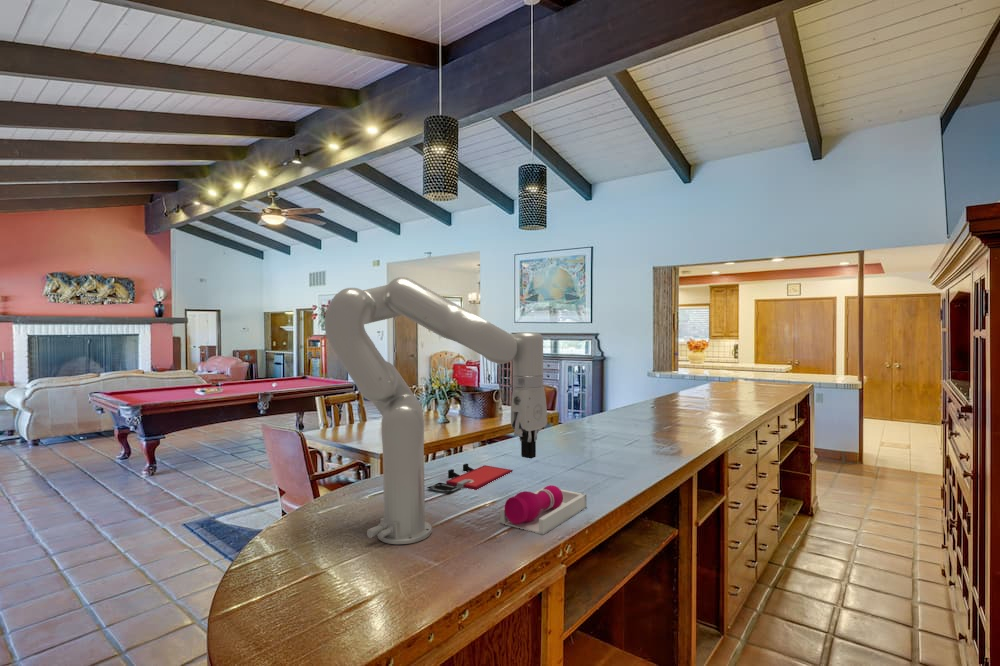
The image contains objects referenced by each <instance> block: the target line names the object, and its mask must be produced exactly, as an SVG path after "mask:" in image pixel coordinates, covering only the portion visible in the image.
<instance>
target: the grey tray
mask: <svg viewBox="0 0 1000 666" xmlns="http://www.w3.org/2000/svg"><path fill="white" fill-rule="evenodd" d="M544 488H545V487H542V488H540V489H538V490H537V491H535V492H533V493H535V494H537V493H538V492H539V491H540V490H543V489H544ZM559 489H560V490H561V492H562V494H563V501H562V504H561V505H560V506H559V507H558V508H556V509H548V510H543V509H542V510H541V511H540V513H539V515H538V516H537V517H536V518H535V519H534V520H532V521H530V522H522V523H519V524H514V523H512V522H511V521H509V519H508V518H507V516H506V513H505V506H504V507H502V508H500V510H499V511H500V515H499V516H500V524H501V525H504V524H505V525H504V526H509V527H512V528H515V529H516V528H517V529H519V528H520V529H519V530H523V529H524V531H527V530H528V532H531V531H532V532H531V533H534V532H535V533H536V534H538V533H539V534H538V535H542V536H545V534H547V533H549V532H550V531H552V530H553V529H555V528H557V527H558V526H560V525H561V524H563V523H564V522H566V521H568V520H569V519H571V518H573V517H574V516H575V515H578V514H579V513H580V512H582V511H584V510H585V509H586V508H587V505H588V504H587V494H586V493H580V492H576V491H571V490H567V489H562V488H559ZM584 508H585V509H584ZM581 510H582V511H581ZM535 533H534V534H535Z"/></svg>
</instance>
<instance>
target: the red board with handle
mask: <svg viewBox="0 0 1000 666" xmlns="http://www.w3.org/2000/svg"><path fill="white" fill-rule="evenodd" d="M467 470H468V471H467ZM463 471H467V472H464V473H463V474H458V473H456V472H455V469H454V468H450V469H449V470H447V472H448V473H447V475H448V476H447V478H448V479H449V480H446V481H445V483H443V482H438V483H435V484H432V485H430V486H428V487H426V489H430V490H435V491H439V492H444V493H448V494H449V493H452V492H454V491H455V490H458V489H460V488H462V489H467V488H468V490H472V489H474V490H473V491H477V489H478V490H480V489H482V488H483V486H484V487H486V486H488V485H489V484H488V483H490V482H491V483H493V482H495V481H497V480H499V479H501V478H503V477H505V476H507V475H509V474H511V473H513V472H512V471H514V470H513V469H507V468H503V467H496V466H492V465H485V464H484V465H482V466H480V467H478V468H475V469H474V468H472V467H470V466H469V463H463V464H462V472H463ZM510 472H511V473H510ZM508 473H509V474H508ZM506 474H507V475H506ZM504 475H505V476H504ZM502 476H503V477H502ZM452 477H453V478H452ZM500 477H501V478H500ZM450 478H451V479H450ZM498 478H499V479H498ZM496 479H497V480H496ZM494 480H495V481H494ZM492 481H493V482H492ZM491 483H490V484H491ZM487 484H488V485H487ZM485 485H486V486H485ZM481 487H482V488H481ZM479 488H480V489H479Z"/></svg>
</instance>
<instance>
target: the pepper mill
mask: <svg viewBox="0 0 1000 666" xmlns="http://www.w3.org/2000/svg"><path fill="white" fill-rule="evenodd" d="M543 488H544V489H543ZM543 488H542V489H543V490H541V489H539V490H540V491H539V492H538V493H537V494H535V493H534V492H531V491H527V490H526V491H525V490H524V491H520V492H518V493H517V494H516V495H515V496H511V497H509V498H508V499H507V500H506V501H505V504H504V507H505V513H506V516H507V518H508V519H509V521H511V522H512V523H514V524H519V523H522V522H530V521H532V520H534V519H535V518H536V517H537V516H538V515H539V513H540V511H541V510H542V509H543V510H548V509H556V508H558V507H559V506H560V505H561V504H562V501H563V494H562V492H561V490H560V489H561V488H559V487H557V486H556V485H552V484H551V485H547V486H545V487H543Z"/></svg>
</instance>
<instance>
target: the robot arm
mask: <svg viewBox="0 0 1000 666" xmlns="http://www.w3.org/2000/svg"><path fill="white" fill-rule="evenodd" d="M324 316H325V317H324V331H325V335H326V339H327V340H328V343H329V345H330V347H331V349H332V350H333V352H334V354H335V355H336V357H337V358H338V360H339V361H340V363H341V364H342V366H343V368H344V369H345V370H346V373H347V374H348V375H349V377H350V378H351V380H352V381H353V382H354V385H355V386H356V388H357V389H358V391H359V393H360V394H361V396H362V397H363V398H364V399H366V400H368V401H369V402H372V403H373V405H374V406H375V407H376V409H377V411H379V414H380V415H381V416H382V418H381V441H382V443H381V444H382V472H383V473H382V479H383V481H382V482H383V516H382V518H381V517H380V519H379V520H380V521H379V522H380V523H378V524H377V525H376V526H373V527H371V528H368V529H367V531H366V535H367V537H368V538H370V539H372V538H374V537H377V539H378V540H379V541H381V542H383V543H385V544H389V545H407V544H414V543H418V542H420V541H421V542H422V541H424V540H425V539H427V538H428V537H429V536H430V535H431V534H432V533H433V532H432V531H433V528H432V525H431V523H430V522H428V521H426V516H425V515H426V510H425V509H426V507H425V506H426V505H425V504H426V503H425V501H426V499H425V498H426V497H425V446H424V445H425V418H424V417H425V416H424V411H423V408H422V404H420V402H419V400H418V398H416V396H415V394H414V392H413V391H412V389H410V387H409V385H408V383H406V381H405V380H404V378H403V377H402V375H401V373H400V372H399V370H398V369H397V367H395V366H394V365H393V364H392V363H391V362H389V361H387V360H386V359H385V358H384V357H383V355H382V354H381V353H380V351H379V350H378V348H377V347H376V344H375V343H374V341H373V340H372V339H371V337H370V336H369V335H368V332H367V331H366V328H365V325H367V324H368V325H369V324H371V323H375V322H380V321H384V320H388V319H392V318H393V319H394V318H396V317H400V316H403V317H405V318H406V319H409V320H411V321H412V322H414V323H416V324H418V325H419V326H422V327H423V328H424V329H427V330H428V331H430V332H433V333H434V334H436V335H438V336H439V337H442V338H444V339H447V340H451V341H452V342H455V343H458V344H460V345H462V346H464V347H466V348H468V349H470V350H472V351H473V352H476V353H477V354H479V355H481V356H482V357H484V358H485V359H486V360H488V361H489V362H492V363H495V364H499V365H504V364H507V363H509V362H511V361H512V393H511V394H512V395H511V403H510V426H511V429H512V430H514V432H513V435H514V436H515V437H519V441H520V442H521V443H520V445H521V449H520V451H521V453H520V454H521V455H520V456H521V457H522V458H525V459H533V458H536V457H537V453H536V452H537V451H536V450H537V449H536V445H537V444H536V443H537V440H538V433H540V431H541V430H542V429H543V428H545V427H546V426H547V425H548V410H547V409H548V407H547V396H546V391H545V387H544V337H543V335H542V334H541V333H540V332H517V333H509V332H507V331H505V330H504V329H502V328H500V327H499V326H497V325H495V324H493V323H491V322H489V321H488V320H486V319H484V318H482V317H480V316H478V315H476V314H475V313H473V312H471V311H469V310H467V309H465V308H464V307H463V306H460V305H459V304H456V303H454V302H453V301H451V300H449V299H447V298H446V297H444V296H442V295H440V294H439V293H437V292H435V291H433V290H431V289H429V288H427V287H426V286H424V285H422V284H420V283H418V282H417V281H415V280H413V279H410V278H408V277H402V276H401V277H399V276H398V277H395V278H393V279H392V280H391V281H389V283H388V284H385V285H381V286H376V287H373V288H367V289H363V290H362V289H360V288H357V287H346V288H344V289H341V290H340V291H339V292H337V293H336V294H335V295H334V297H332V299H331V300H330V302H329V304H328V307H327V309H326V312H325V315H324Z"/></svg>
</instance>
